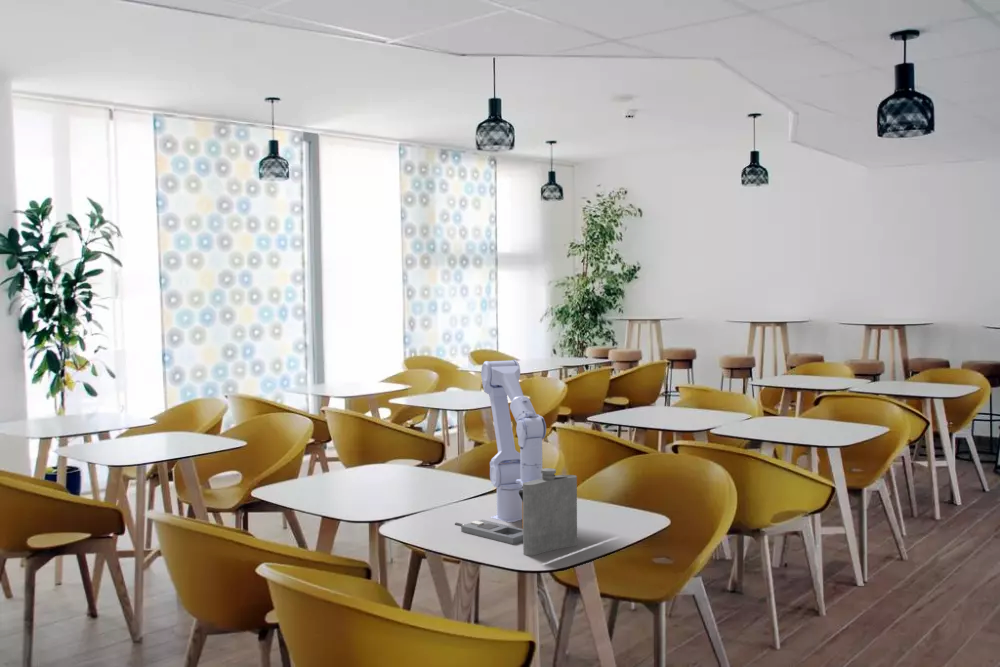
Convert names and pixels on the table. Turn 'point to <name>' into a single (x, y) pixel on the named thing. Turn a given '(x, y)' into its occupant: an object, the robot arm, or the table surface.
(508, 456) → the robot arm
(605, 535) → the table surface
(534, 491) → the hip flask
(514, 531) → the power strip
